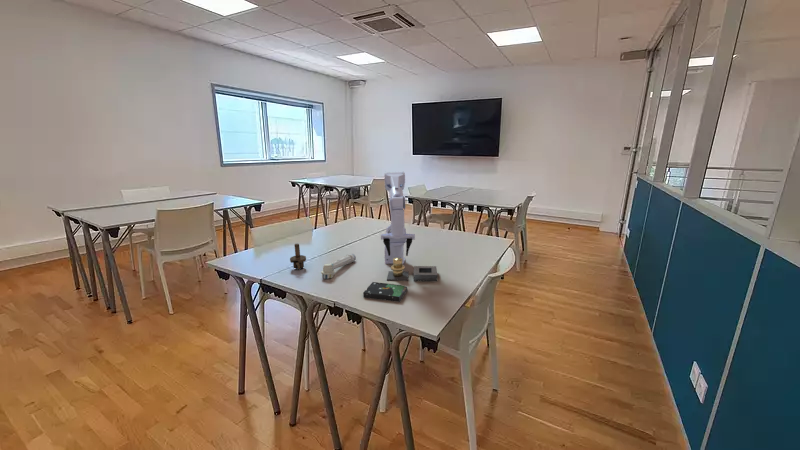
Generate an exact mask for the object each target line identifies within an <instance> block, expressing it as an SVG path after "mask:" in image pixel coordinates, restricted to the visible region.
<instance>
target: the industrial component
mask: <svg viewBox="0 0 800 450" xmlns="http://www.w3.org/2000/svg"><path fill="white" fill-rule="evenodd" d="M294 254H295V255H293V256H290V258H289V262H290V263H293V264H292V265H293V269H294V268H298V269H300V268H303V267H304V268H305V262H306V261H307V257H306V255H301V250H300V243H294ZM304 268H303V269H304ZM298 269H297V270H298ZM300 270H301V269H300Z"/></svg>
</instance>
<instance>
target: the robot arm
mask: <svg viewBox="0 0 800 450" xmlns="http://www.w3.org/2000/svg"><path fill="white" fill-rule="evenodd" d="M383 177H384V188H385V190H386V191H387V192H388V193H389V211H390V213H389V214H390V224H389V225H388V226H387V227H386V230H385V233H381V234H380V240H381V241H382V240H383V241H382V242H383V244H384V264H385V265H386V264H387V265H389V264H392V265H393V258H397V257H398V258H402V265H404V264H405V260H406V259H405V257H408V256H409V255H408V254H409V250H410V247H411V245H412V243H413V241H414V240H416V234H415V233H407V230H406V227H405V210H406V198H405V195H404V191H403V190H405V189H404V188H405V183H406V174H405V172H404V171H392V172H390V171H385V172H384V176H383ZM405 244H406V245H405ZM404 245H405V246H406V250H404V249H405V248H404ZM404 251H406V253H404Z"/></svg>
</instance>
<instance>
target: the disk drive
mask: <svg viewBox="0 0 800 450" xmlns="http://www.w3.org/2000/svg"><path fill="white" fill-rule="evenodd" d="M407 292H408V287H407V285H402V284H394V283H385V282H376V281H372V282H371V283H370V284H369V285H368V286H367V289H364V291H363V295H362V296H363V298H365V299H372V300H380V301H389V302H395V303H401V301H402V300H403V298H404V297H405V295H406V294H407Z"/></svg>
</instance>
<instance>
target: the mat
mask: <svg viewBox="0 0 800 450" xmlns="http://www.w3.org/2000/svg"><path fill="white" fill-rule="evenodd" d="M386 281H394V282H396V281H398V282H399V281H402V282H404V281H405V282H406V281H409V271H408V270H407V271H405V270H403V276H401V277H394V276H393V270H388V273H387V276H386Z"/></svg>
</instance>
